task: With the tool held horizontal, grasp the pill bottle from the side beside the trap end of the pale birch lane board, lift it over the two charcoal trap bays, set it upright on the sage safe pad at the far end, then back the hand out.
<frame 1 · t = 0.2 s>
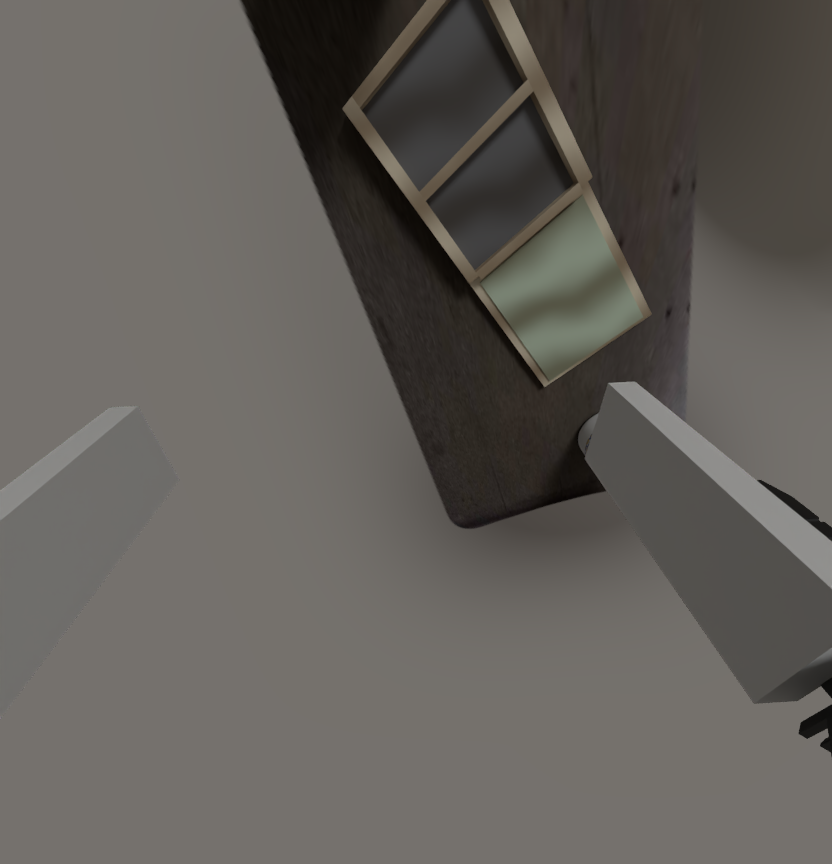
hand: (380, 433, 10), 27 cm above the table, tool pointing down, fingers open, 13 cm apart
bath foam: (604, 431, 43), on the table
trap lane: (517, 226, 31), on the table
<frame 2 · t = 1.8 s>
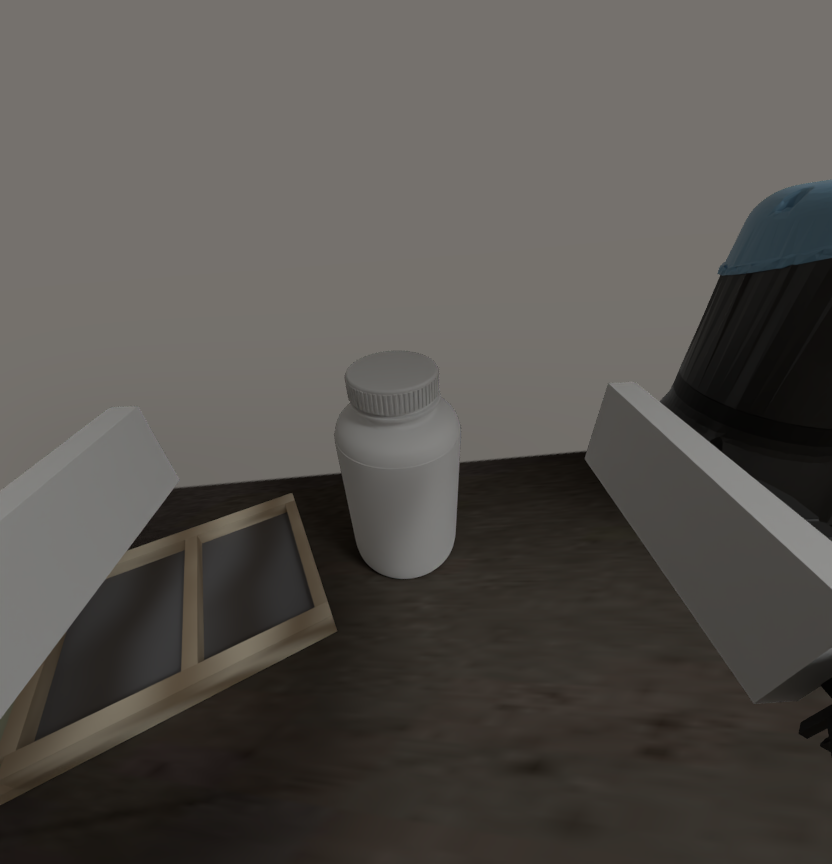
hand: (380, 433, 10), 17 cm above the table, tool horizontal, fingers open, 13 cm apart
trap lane: (73, 663, 22), on the table
pill bottle: (406, 539, 28), on the table
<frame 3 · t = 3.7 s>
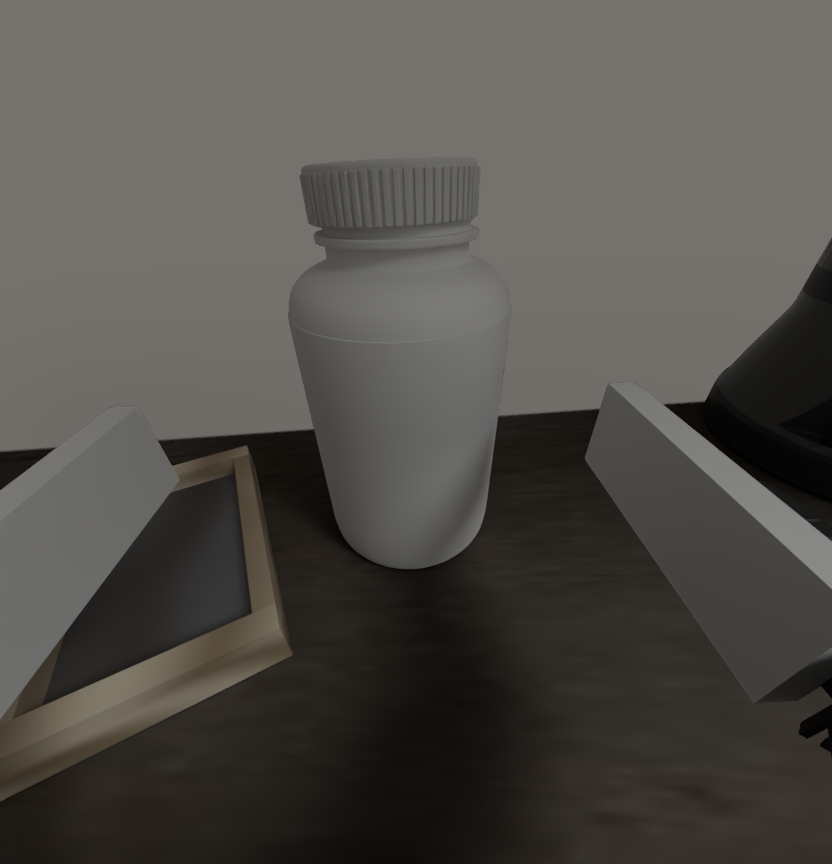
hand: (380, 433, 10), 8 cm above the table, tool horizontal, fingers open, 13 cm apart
pill bottle: (411, 512, 19), on the table
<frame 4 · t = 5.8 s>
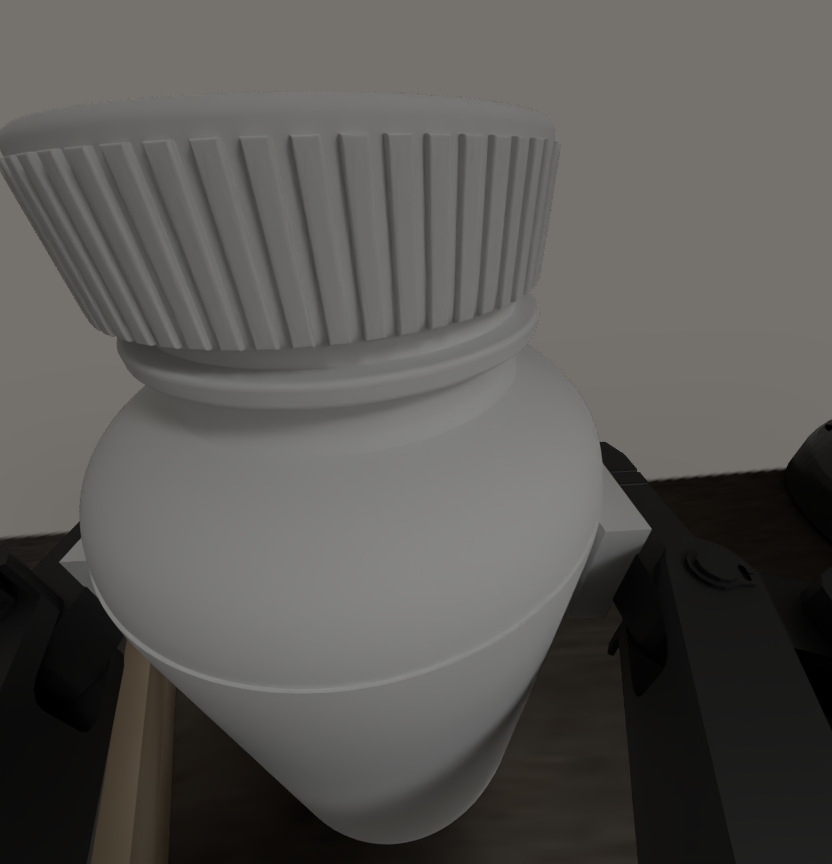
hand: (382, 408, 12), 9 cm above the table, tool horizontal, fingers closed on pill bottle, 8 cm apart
pill bottle: (398, 683, 13), on the table, touching gripper
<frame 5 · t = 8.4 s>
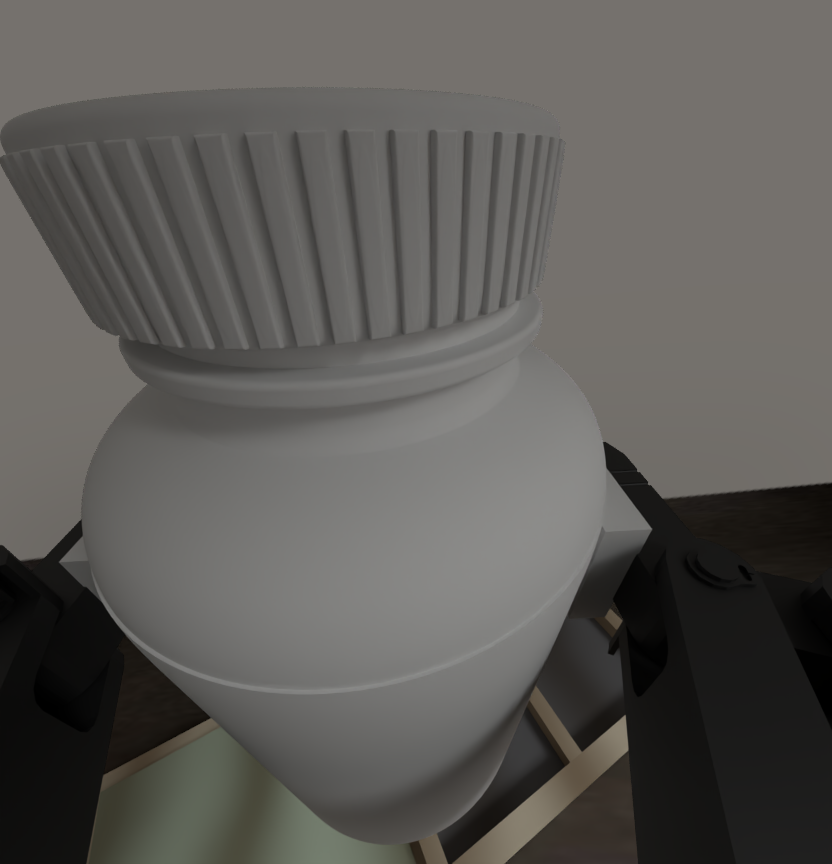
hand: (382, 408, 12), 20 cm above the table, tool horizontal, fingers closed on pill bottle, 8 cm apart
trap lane: (404, 741, 20), on the table
pill bottle: (399, 683, 13), point 11 cm above the table, touching gripper
when the fingers open (11 cm above the table, at t = 11.2 s): pill bottle drops 1 cm, resting on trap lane.
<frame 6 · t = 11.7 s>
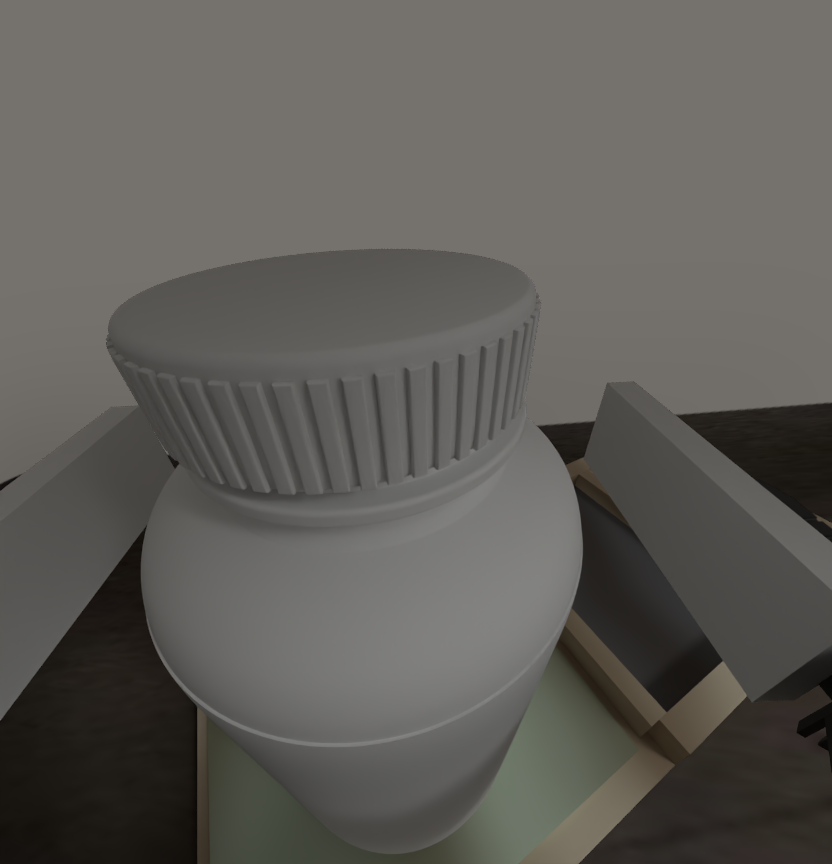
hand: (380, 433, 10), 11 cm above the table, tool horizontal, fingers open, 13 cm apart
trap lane: (550, 612, 17), on the table
pill bottle: (400, 699, 13), point 1 cm above the table, touching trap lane
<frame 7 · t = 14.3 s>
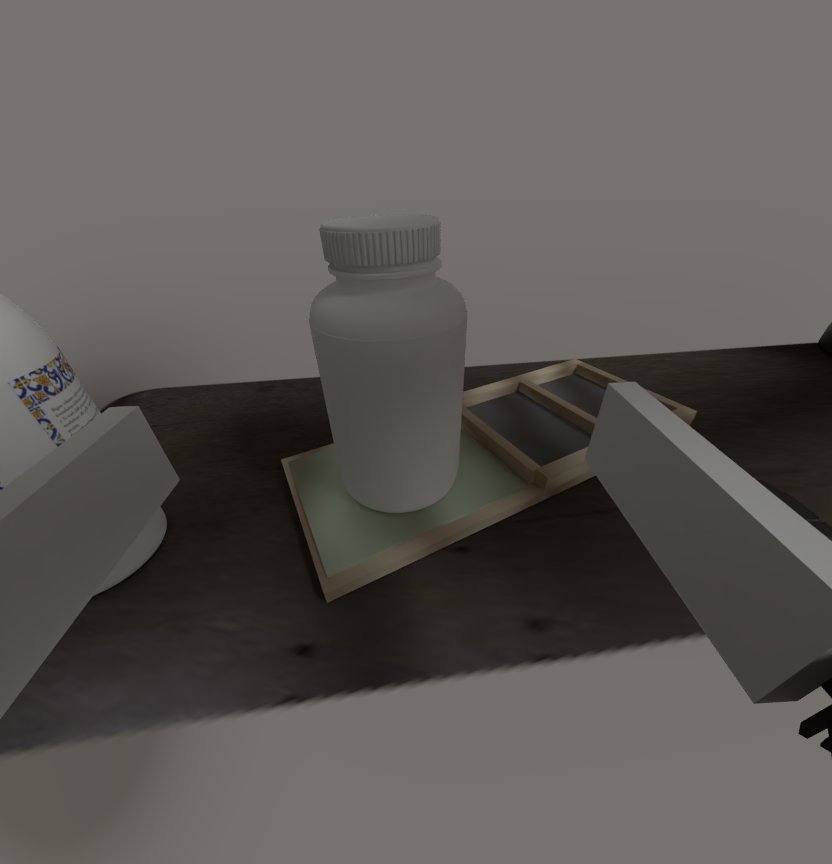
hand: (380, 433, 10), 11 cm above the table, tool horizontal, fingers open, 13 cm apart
bath foam: (105, 554, 21), on the table
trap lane: (492, 449, 28), on the table
pill bottle: (400, 475, 24), point 1 cm above the table, touching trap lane
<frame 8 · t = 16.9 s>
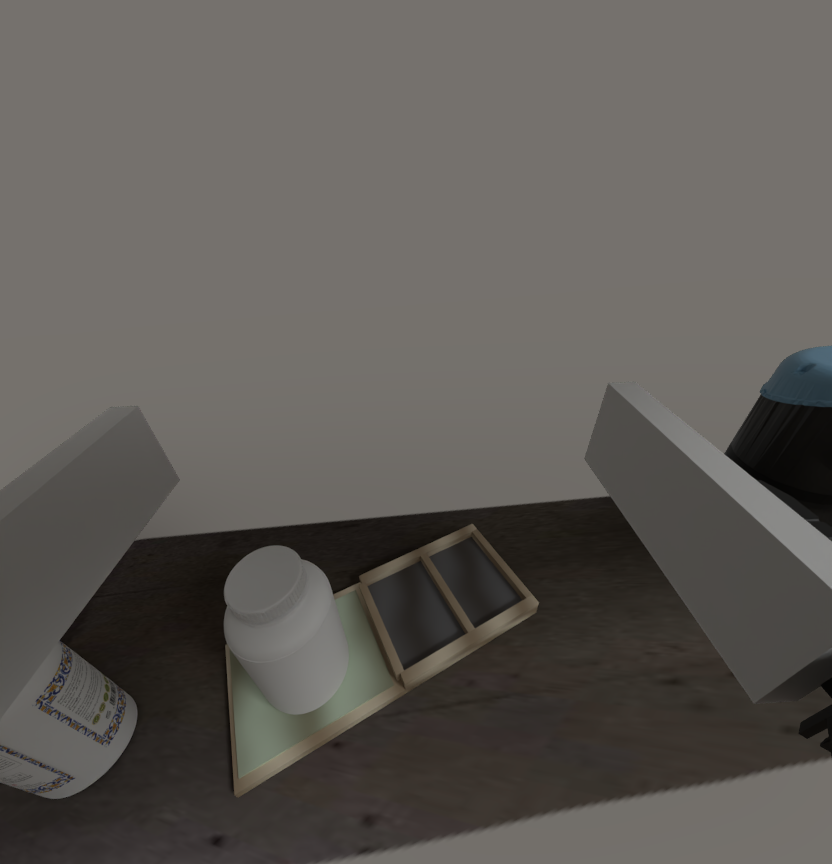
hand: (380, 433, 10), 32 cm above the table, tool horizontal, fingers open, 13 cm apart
bath foam: (93, 743, 30), on the table
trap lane: (386, 630, 37), on the table
pill bottle: (309, 667, 33), point 1 cm above the table, touching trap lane
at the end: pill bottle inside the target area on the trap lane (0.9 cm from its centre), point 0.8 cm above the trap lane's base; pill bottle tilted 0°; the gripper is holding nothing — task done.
